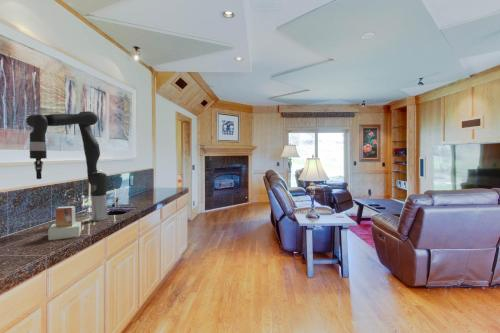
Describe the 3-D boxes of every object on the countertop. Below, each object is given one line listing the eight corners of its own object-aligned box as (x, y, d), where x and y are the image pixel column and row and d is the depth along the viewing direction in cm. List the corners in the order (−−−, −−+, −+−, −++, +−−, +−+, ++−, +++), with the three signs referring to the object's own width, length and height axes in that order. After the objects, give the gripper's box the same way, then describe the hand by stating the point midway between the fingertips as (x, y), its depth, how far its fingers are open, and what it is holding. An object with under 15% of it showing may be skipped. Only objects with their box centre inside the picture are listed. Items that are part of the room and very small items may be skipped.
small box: (55, 227, 151) (55, 208, 150) (59, 224, 156) (59, 206, 156) (72, 226, 153) (71, 207, 152) (75, 223, 158) (75, 205, 158)
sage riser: (81, 231, 164) (81, 221, 164) (79, 237, 152) (79, 226, 152) (52, 234, 158) (52, 224, 158) (48, 241, 145) (48, 229, 145)
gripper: (46, 149, 151) (47, 179, 152) (46, 150, 162) (46, 177, 163) (29, 149, 146) (30, 179, 147) (29, 150, 158) (30, 178, 158)
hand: (39, 178), depth 155 cm, fingers open, 8 cm apart
